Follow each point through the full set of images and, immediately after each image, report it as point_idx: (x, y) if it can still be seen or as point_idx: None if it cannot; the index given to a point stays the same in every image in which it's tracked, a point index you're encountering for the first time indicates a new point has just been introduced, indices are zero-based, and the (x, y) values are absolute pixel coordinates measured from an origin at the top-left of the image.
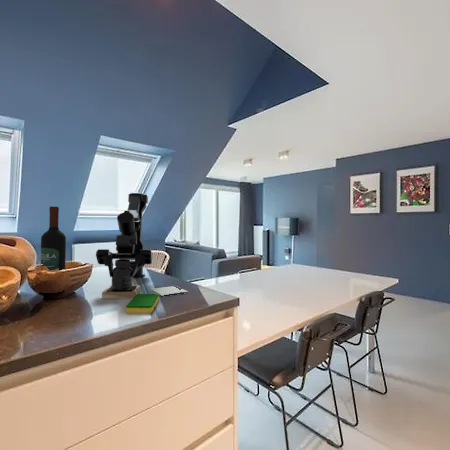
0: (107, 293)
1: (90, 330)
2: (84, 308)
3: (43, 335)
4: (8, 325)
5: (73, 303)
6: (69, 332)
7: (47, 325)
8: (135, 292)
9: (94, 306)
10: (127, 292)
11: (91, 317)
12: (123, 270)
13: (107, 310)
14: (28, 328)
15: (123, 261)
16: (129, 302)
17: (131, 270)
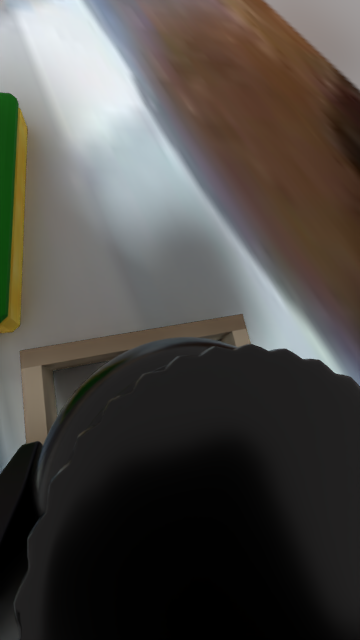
0: (210, 320)
1: (94, 6)
2: (224, 184)
3: (198, 2)
4: (327, 67)
5: (310, 248)
6: (145, 6)
7: (234, 53)
8: (22, 350)
9: (199, 208)
10: (83, 341)
11: (144, 94)
12: (133, 359)
13: (118, 157)
14: (265, 43)
15: (161, 372)
16: (10, 140)
17: (32, 486)
